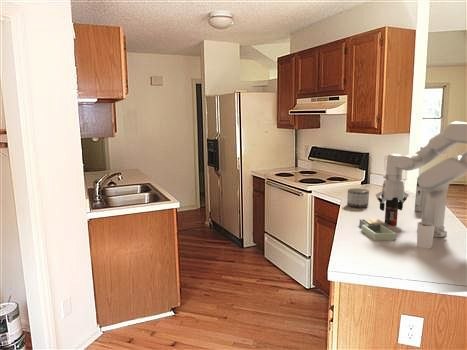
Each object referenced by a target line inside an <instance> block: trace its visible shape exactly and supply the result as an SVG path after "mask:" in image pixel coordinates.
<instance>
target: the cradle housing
mask: <svg viewBox="0 0 467 350" xmlns="http://www.w3.org/2000/svg"><path fill="white" fill-rule="evenodd" d="M377 219H378V220H380V221H381V222H383V223H384V224H381V225H383V226H385V227H386V228H388V229H389V225H388V224H386V223H385V221H382V220H381V219H380V218H377ZM358 225H359V226H360V227H361V228H362V225H368V228H369V226H373V227H374V228H373V227H372V228H371V227H370V228H369V229H376V230H372V231H374V232H381V231H380V227H379V226H380V225H369V224H368V223H366V222H365V221H363V219H359V224H358ZM377 228H378V229H379V230H377Z"/></svg>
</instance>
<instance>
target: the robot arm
mask: <svg viewBox="0 0 467 350" xmlns="http://www.w3.org/2000/svg"><path fill="white" fill-rule="evenodd" d="M459 144H467V122H465V121H453V122H450V123H448V124H447V125H446V126H445V128H444V129H443V131H441V132H440V133H437V134H436V135H435V136H434V137H433V136H432V138H430V139H429V140H428V142H427V145H425V146H424V147H423V148H421V149H420V150H418V151H416V152H415V153H412V154H409V155H406V154H405V155H402V154H400V153H390V154H387V158H386V167H385V168H386V170H385V175H383V179H384V180H383V184H382V186H381V191H380V192H378V193H376V194H375V196H376V199H377V201H378V202H379V209H380V210H381V211H383V212H384V211H385V208H386V200H392V199H393V198H398V210H399V211H402V210H403V205H404V203H405V202H406V200H407V199H408V197H409V194H408V193H406V192H405V185H404V180H402V178H403V177H402V176H403V171H413V170H416V169H420V168H422V167H423V166H425V165H427V164H430V162H432V161H433V160H435V159H436V158H438V157H440V156H441V155H442V154H445V153H446V152H447V151H449V150H451V149H452V148H454V147H455V146H457V145H459ZM466 175H467V150H466V151H464V152H462V153H461V154H458V155H456V156H452V157H449V158H446V159H444V160H442V161H440V162H439V163H436V164H435V165H433V166H431V167H428V169H425V170H423V172H421V173H420V175H418V177H417V178H418V185H419V186H420V188H422V189H423V190H425V191H424V196H423V207H422V212H421V221H420V222H429V223H433V224H434V225H435V228H434V235H433V238H444V237H447V235H448V232H447V231H446V230H445V229H446V227H445V218H446V217H445V216H446V215H445V214H446V206H447V205H446V204H447V195H448V190H449V186H450V183H452V182H454V181H455V180H458V179H460V178H462V177H465V176H466Z"/></svg>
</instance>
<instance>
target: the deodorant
mask: <svg viewBox="0 0 467 350" xmlns="http://www.w3.org/2000/svg"><path fill="white" fill-rule="evenodd" d="M398 202H399V200H398V198H393V199H392V200H386V201H385V207H384V211H385V212H384V223H386V224H388V227H390V226H391V227H395V226H398V225H397V224H398V215H399V214H398V210H399V209H398Z"/></svg>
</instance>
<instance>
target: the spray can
mask: <svg viewBox="0 0 467 350" xmlns="http://www.w3.org/2000/svg"><path fill="white" fill-rule="evenodd" d="M415 190H416V191H415V200H414V201H415V202H414V211H416V212H419V213H422V207H423V196H424V191H425V190H423V189H422V188H420V186H419V185H418V177H417V180H416V189H415Z"/></svg>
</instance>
